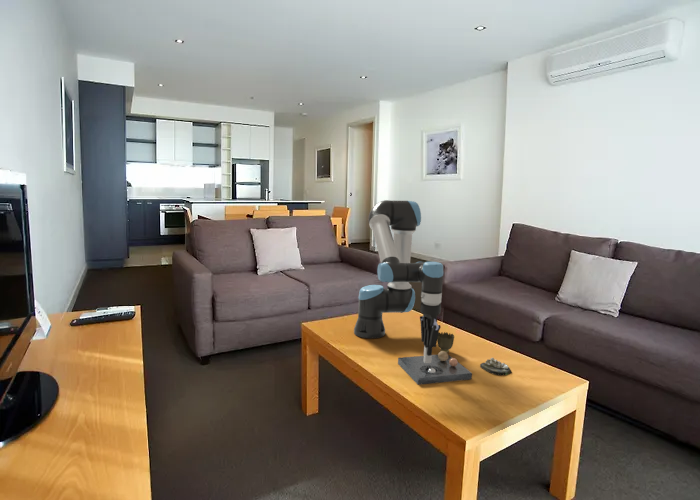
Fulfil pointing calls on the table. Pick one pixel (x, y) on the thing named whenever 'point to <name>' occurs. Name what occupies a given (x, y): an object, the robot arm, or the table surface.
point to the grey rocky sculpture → (495, 367)
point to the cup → (445, 341)
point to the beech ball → (443, 356)
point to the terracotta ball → (453, 362)
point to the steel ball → (431, 370)
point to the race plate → (443, 368)
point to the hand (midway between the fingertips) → (427, 362)
